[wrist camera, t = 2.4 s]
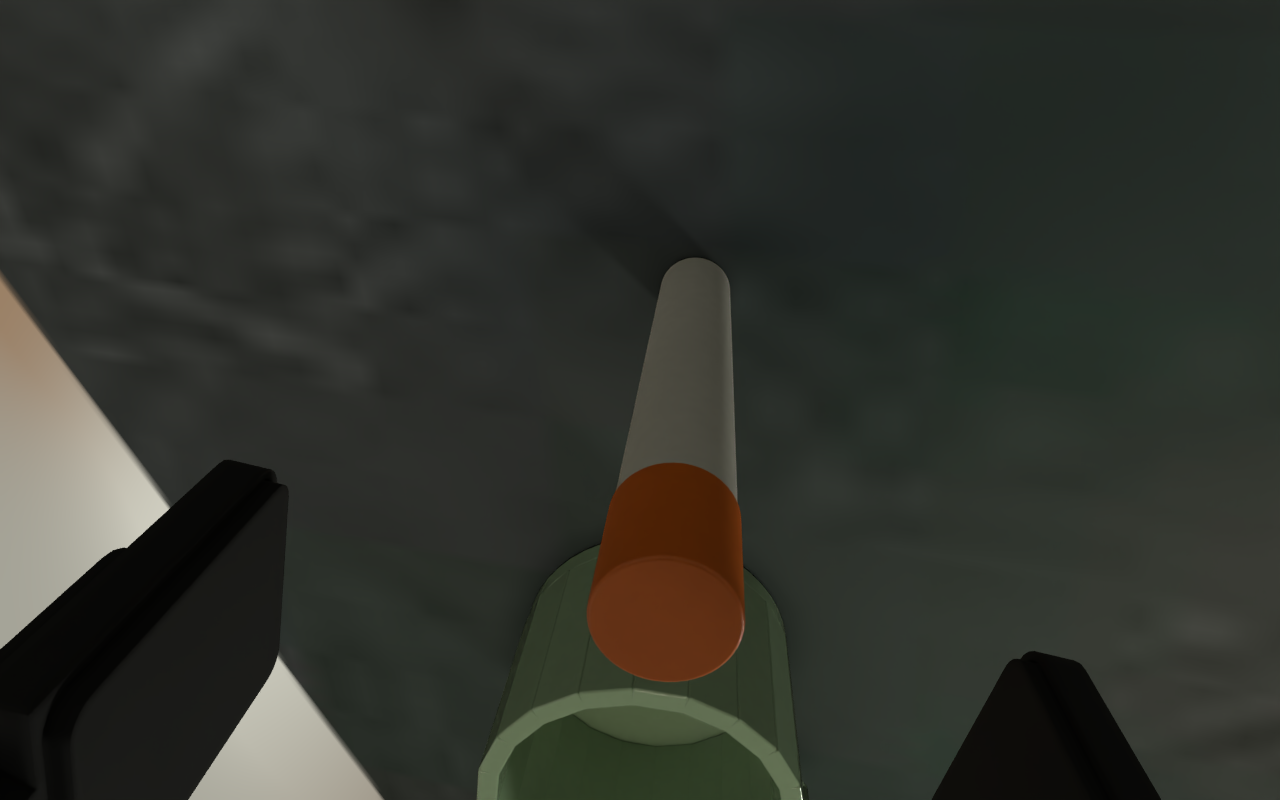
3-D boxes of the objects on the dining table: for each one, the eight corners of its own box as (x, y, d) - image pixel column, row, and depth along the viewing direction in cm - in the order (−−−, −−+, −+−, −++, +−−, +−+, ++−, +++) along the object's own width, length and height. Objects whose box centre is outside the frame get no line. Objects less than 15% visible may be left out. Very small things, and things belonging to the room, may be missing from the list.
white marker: (668, 246, 24) (604, 539, 10) (740, 265, 24) (765, 579, 11) (651, 314, 24) (571, 663, 11) (720, 332, 25) (721, 700, 11)
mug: (476, 637, 30) (412, 802, 24) (651, 486, 27) (630, 632, 21) (712, 815, 33) (710, 1005, 27) (896, 698, 30) (943, 883, 23)
